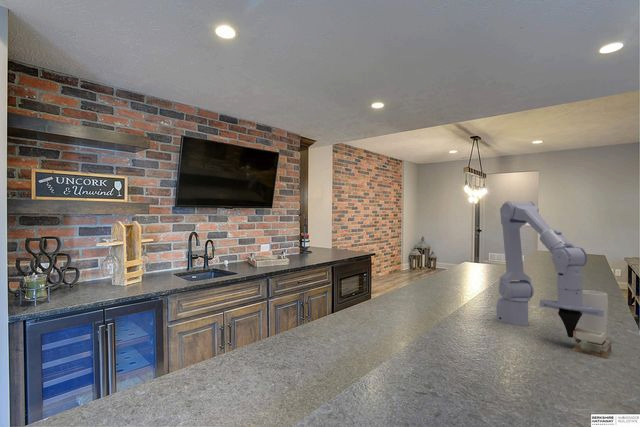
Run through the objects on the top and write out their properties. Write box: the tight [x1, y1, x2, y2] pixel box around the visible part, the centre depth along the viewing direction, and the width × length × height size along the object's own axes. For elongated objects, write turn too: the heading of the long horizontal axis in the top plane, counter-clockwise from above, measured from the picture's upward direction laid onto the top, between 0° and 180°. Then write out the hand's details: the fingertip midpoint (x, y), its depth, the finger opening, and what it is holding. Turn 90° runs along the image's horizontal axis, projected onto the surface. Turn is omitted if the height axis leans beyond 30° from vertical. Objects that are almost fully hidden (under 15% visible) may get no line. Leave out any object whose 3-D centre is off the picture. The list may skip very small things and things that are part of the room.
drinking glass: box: [580, 289, 609, 340], centre depth 98 cm, size 7×7×15 cm
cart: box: [572, 327, 605, 345], centre depth 89 cm, size 6×5×3 cm
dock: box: [571, 339, 612, 359], centre depth 93 cm, size 19×12×4 cm, turn 40°
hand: (570, 336), depth 92 cm, fingers closed
